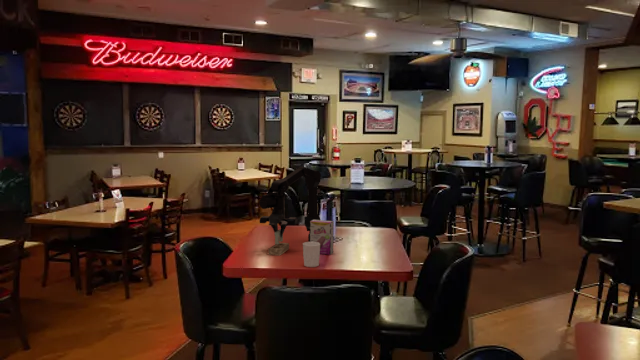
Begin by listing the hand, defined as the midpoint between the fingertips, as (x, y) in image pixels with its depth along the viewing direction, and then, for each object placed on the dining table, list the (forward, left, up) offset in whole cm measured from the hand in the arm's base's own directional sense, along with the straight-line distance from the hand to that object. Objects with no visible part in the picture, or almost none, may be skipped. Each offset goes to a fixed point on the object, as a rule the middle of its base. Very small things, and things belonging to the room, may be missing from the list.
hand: (279, 237), depth 244 cm
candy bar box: (-21, -3, -8) cm, 23 cm away
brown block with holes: (0, 0, -8) cm, 8 cm away
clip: (0, 0, -3) cm, 3 cm away
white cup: (-22, +19, -8) cm, 30 cm away
